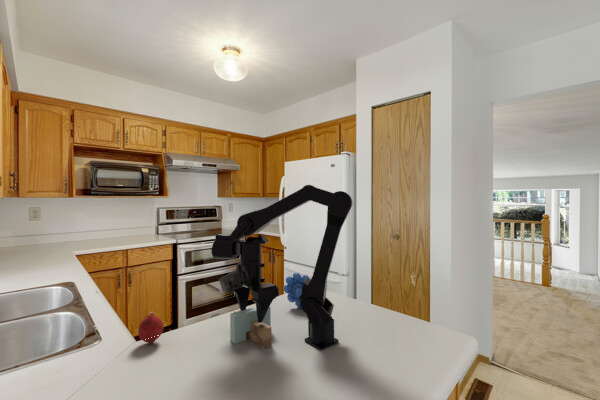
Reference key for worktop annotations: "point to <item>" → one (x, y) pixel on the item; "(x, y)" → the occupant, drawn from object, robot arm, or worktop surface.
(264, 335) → the slot rail
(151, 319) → the onion
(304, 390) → the worktop surface
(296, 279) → the grapes
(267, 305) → the robot arm
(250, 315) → the cross plate
